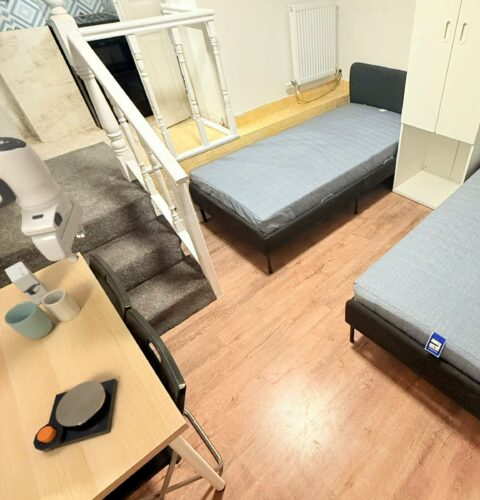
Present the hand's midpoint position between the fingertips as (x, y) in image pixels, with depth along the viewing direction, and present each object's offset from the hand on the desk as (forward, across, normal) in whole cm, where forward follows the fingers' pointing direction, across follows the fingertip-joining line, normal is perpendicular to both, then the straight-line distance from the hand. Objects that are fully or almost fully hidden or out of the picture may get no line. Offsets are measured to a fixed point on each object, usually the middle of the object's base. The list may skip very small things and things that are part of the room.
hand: (79, 248), depth 88 cm
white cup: (+26, -3, -16) cm, 31 cm away
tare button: (+23, +37, -11) cm, 45 cm away
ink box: (+26, -14, -27) cm, 40 cm away
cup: (+26, +2, -22) cm, 34 cm away
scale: (+26, +32, -6) cm, 42 cm away
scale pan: (+22, +32, -4) cm, 39 cm away
